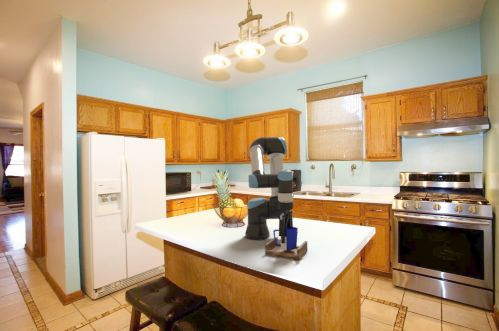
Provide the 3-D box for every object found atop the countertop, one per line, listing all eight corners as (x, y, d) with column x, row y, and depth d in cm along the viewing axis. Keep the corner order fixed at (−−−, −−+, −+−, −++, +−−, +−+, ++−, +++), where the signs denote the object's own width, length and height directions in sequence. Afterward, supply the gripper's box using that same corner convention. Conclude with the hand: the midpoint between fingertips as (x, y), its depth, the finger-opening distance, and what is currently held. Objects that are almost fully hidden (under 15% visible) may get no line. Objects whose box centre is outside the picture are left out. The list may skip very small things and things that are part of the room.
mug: (272, 246, 128) (272, 226, 129) (296, 245, 128) (295, 226, 129) (274, 251, 120) (274, 230, 120) (299, 250, 120) (299, 229, 120)
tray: (265, 254, 123) (265, 244, 123) (275, 246, 135) (275, 237, 135) (299, 260, 115) (299, 249, 115) (307, 251, 127) (307, 241, 127)
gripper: (285, 204, 114) (286, 254, 114) (298, 199, 132) (299, 242, 132) (270, 203, 118) (271, 252, 118) (285, 198, 135) (286, 240, 135)
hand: (286, 247), depth 125 cm, fingers closed on mug, 7 cm apart
